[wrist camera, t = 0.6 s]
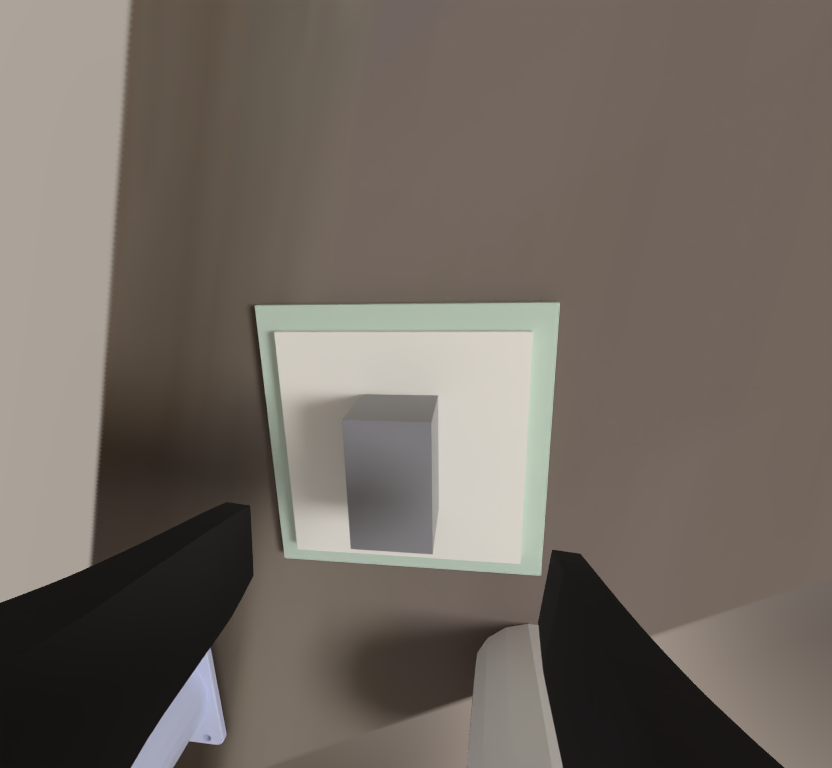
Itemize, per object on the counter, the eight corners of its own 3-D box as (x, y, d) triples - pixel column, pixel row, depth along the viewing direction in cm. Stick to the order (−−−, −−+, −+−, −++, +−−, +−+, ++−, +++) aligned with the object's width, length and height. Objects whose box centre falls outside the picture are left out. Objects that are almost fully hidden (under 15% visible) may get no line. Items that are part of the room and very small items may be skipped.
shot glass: (437, 640, 21) (422, 814, 14) (566, 593, 19) (616, 763, 13) (502, 737, 22) (515, 938, 16) (628, 700, 21) (704, 907, 14)
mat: (288, 551, 21) (284, 558, 20) (260, 304, 18) (254, 305, 17) (538, 567, 19) (540, 575, 19) (557, 301, 16) (560, 302, 16)
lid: (302, 541, 20) (267, 598, 16) (280, 330, 17) (233, 345, 14) (518, 554, 19) (530, 619, 15) (531, 329, 16) (547, 346, 13)
